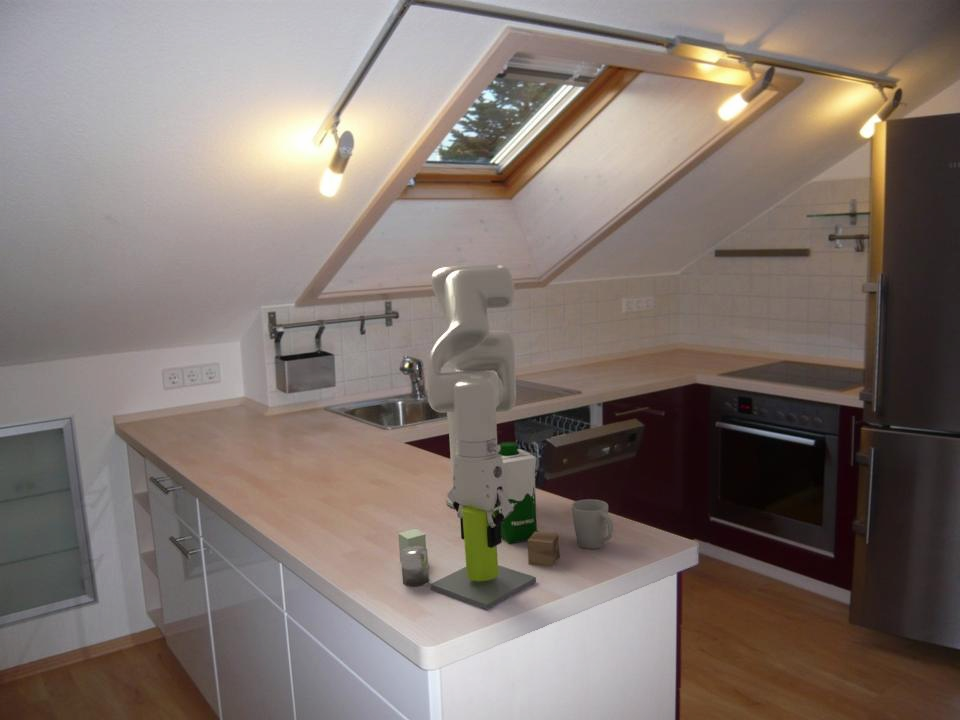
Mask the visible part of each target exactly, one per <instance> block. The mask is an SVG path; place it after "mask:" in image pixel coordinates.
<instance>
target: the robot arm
mask: <svg viewBox="0 0 960 720" xmlns="http://www.w3.org/2000/svg"><path fill="white" fill-rule="evenodd" d="M430 279H431V287H432V291H433V293H434V295H435V298H436V300H437V302H438V303H439V305H440V307H441V309H442V311H443V315H444V320H445V332H444V333H443V334H442V335H441V336H440V337H439V338H438V339H437V340H436V342H435V343H434V345H433V346H432V348H431V350H430V351H429V354H428V357H427V361H426V394H427V400H428V404H429V406H430V408H431V409H432V410H434V411H435V412H437V413H446V417H447V424H448V434H449V435H448V436H449V440H448V441H449V452H450V456H449V457H450V472H451V489H450V490H449V492H448V493H447V497H446V499H445V501H446V505H447V506H449V507H451V508H453V509H455V511H456V512H457V513H456V514H457V515H456V516H457V518H458V519H460V520H459V521H460V537H461V540H464V530H463V517H462V507H463V506H468V507H470V504H472V505H473V507H474V508H476V509H479V510H482V511H486V516H487V519H488V522H489V525H490V526H488V527H487V539H488V547H490V548H492V547H494V546H496V545H497V546H498V545H500V544H502V542H503V539H502V537H501V523H503V522H504V520H505V519H506V518H507V517H508V516H509V515H510V514H511V513H512V512H513V511H514V509H513V507H512V505H511V504H510V502H509V501H508V489H507V480H506V473H505V468H504V463H503V459H502V456H501V454H498V452H499V451H500V449H501V447H500V445H499V444H498V430H497V429H498V428H497V427H498V425H497V413H499V414H500V413H507V412H511V411H512V410H513V409H514V408H515V406H516V402H517V377H516V376H517V375H516V351H515V350H516V349H515V344H514V340H513V338H512V335H511V334H510V333H509V332H508V331H506V330H499V329H498V330H497V329H494V330H492V329H491V330H490V326H489V325H490V324H489V316H488V315H489V314H488V309H497V308H499V309H500V308H508V307H511V306H512V304H513V303H514V300H515V293H516V292H515V282H514V278H513V275H512V273H511V271H510V269H509V268H508V267H507V266H506V265H505V264H480V265H479V264H478V265H477V264H475V265H474V264H473V265H452V266H444V267H440V268H437V269H436V270H433V272H432V274H431V278H430ZM447 363H448V365H449V367H450V368H451V370H452V371H451V372H441V369H442V368H443V366H445V364H447ZM454 371H455V372H454ZM500 506H501V507H502V511H501V509H500ZM492 512H495V515H496V517H495V518H494V516H493V513H492Z"/></svg>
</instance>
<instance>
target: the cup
mask: <svg viewBox="0 0 960 720" xmlns="http://www.w3.org/2000/svg"><path fill="white" fill-rule="evenodd" d="M570 506H571V511H572V518H573V519H572V520H573V521H572V522H573V527H574V528H573V529H574V532H575V538H576V539H575V540H576V543H577V545H578V547H580V548H581V549H585V548H586V549H587V550H594V549H595V550H596V549H600V548H602V547H603V546H605V544H606V542H609V540H610V539H611V538H612V535H613V530H614V529H613V528H614V527H613V520H612V519H611V517H610V515H609V504H608V503H607V502H606V501H604V500H600V499H587V498H586V499H580V500H576V501H574V502H573V503H572V504H571V505H570Z"/></svg>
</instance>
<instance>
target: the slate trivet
mask: <svg viewBox="0 0 960 720" xmlns="http://www.w3.org/2000/svg"><path fill="white" fill-rule="evenodd" d="M535 583H537V576H534V575H530V574H528V573H524V572H522V571H518V570H514V569H511V568H508V567H504V566H501V565H499V564H498V576H497V577H496V578H494V579H491V580H488V581H474V580H471V579H469V578H468V577H467V568H466V566H465V567H462V568H460V569H458V570H457V571H454V572H452V573H450V574H448V575H446V576H444V577H442V578H440V579H438V580H436V581H434V582H432V583H430V584H429V585H430V586H429V587H430V590H431V591H435V592H437V593H440V594H442V595H445V596H448V597H450V598H453V599H455V600H459V601H462V602H464V603H467V604H470V605H472V606H475V607H478V608H480V609H483V610H486V611H488V610H489V609H491V608H493V607H495V606H497V605H498V604H500V603H501V602H503V601H506V600H508V599H509V598H511V597H513V596H514V595H516V594H518V593H521V591H523V590H525V589H527V588H528V587H530V586H532V585H534V584H535Z"/></svg>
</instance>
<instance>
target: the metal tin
mask: <svg viewBox="0 0 960 720" xmlns="http://www.w3.org/2000/svg"><path fill="white" fill-rule="evenodd" d="M401 561H402V562H401V572H402V573H401V576H402V583H403V585H404V586H407V587H421V586H424V585H427V583H429V580H430V578H429V577H430V576H429V575H430V573H429V559H428V549H427V547H426V548H425V547H422V546H411V547H407V548H404V549H403V550H402V551H401Z"/></svg>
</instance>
